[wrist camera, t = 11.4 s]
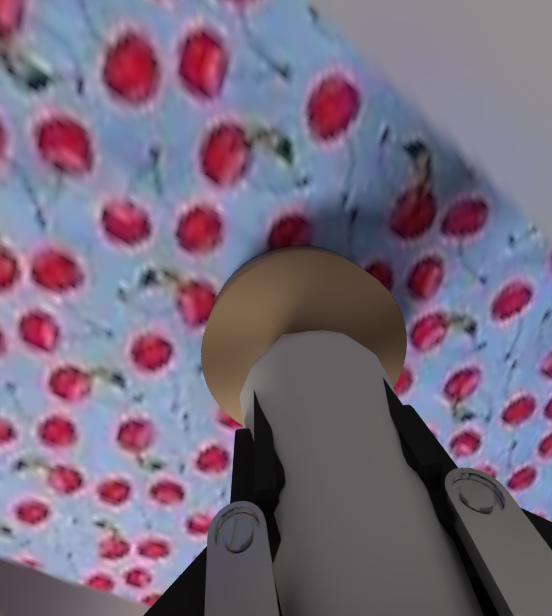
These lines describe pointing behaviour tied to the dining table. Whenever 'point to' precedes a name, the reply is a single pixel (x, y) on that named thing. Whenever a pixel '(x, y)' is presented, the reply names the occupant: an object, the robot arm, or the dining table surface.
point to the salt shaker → (349, 489)
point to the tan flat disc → (295, 315)
